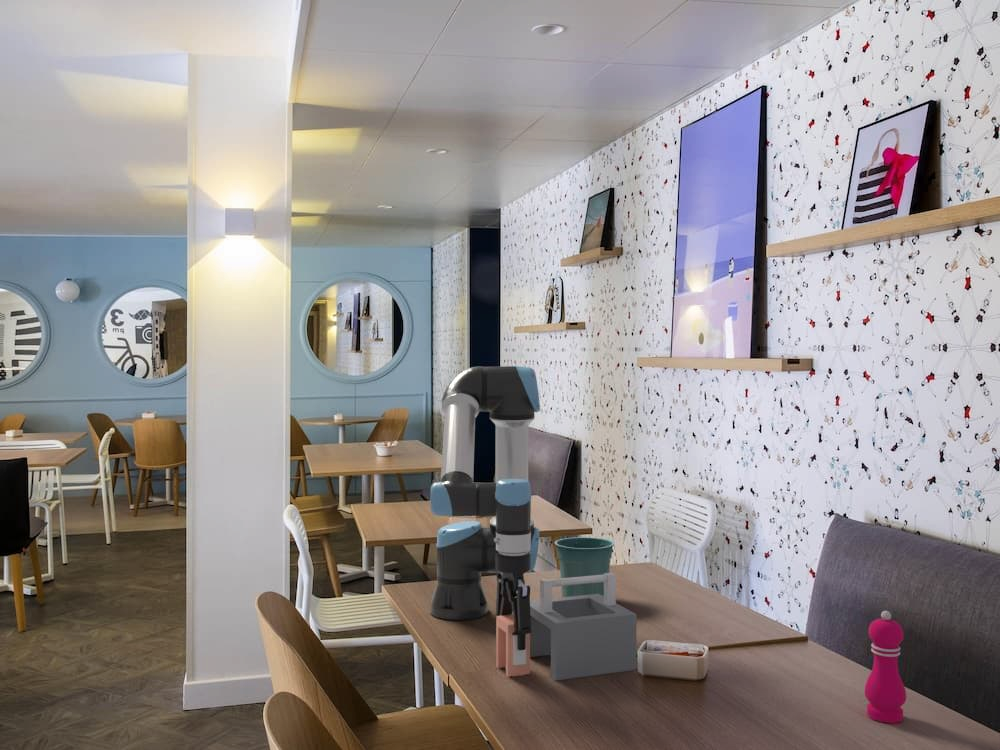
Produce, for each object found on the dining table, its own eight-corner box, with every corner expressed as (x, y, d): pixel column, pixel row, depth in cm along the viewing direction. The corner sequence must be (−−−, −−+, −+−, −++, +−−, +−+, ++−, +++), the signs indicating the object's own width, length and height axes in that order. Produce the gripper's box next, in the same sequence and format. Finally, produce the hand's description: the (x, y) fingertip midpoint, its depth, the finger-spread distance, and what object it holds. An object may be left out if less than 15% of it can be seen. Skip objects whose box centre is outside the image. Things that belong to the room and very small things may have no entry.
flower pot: (544, 596, 256) (544, 539, 256) (594, 590, 263) (594, 534, 263) (573, 611, 242) (573, 550, 241) (625, 604, 248) (626, 545, 248)
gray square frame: (522, 654, 207) (523, 571, 207) (598, 644, 214) (598, 564, 213) (555, 680, 190) (555, 590, 190) (636, 669, 197) (636, 582, 197)
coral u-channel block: (496, 666, 199) (496, 616, 199) (517, 663, 201) (517, 613, 200) (507, 677, 192) (508, 624, 192) (529, 674, 194) (530, 622, 194)
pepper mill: (857, 710, 175) (858, 606, 174) (893, 708, 175) (894, 605, 175) (875, 725, 168) (877, 616, 167) (913, 724, 168) (915, 616, 168)
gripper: (480, 544, 204) (480, 646, 204) (514, 563, 185) (513, 675, 186) (512, 541, 207) (512, 642, 207) (547, 560, 188) (547, 671, 188)
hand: (512, 658), depth 196 cm, fingers closed on coral u-channel block, 7 cm apart
